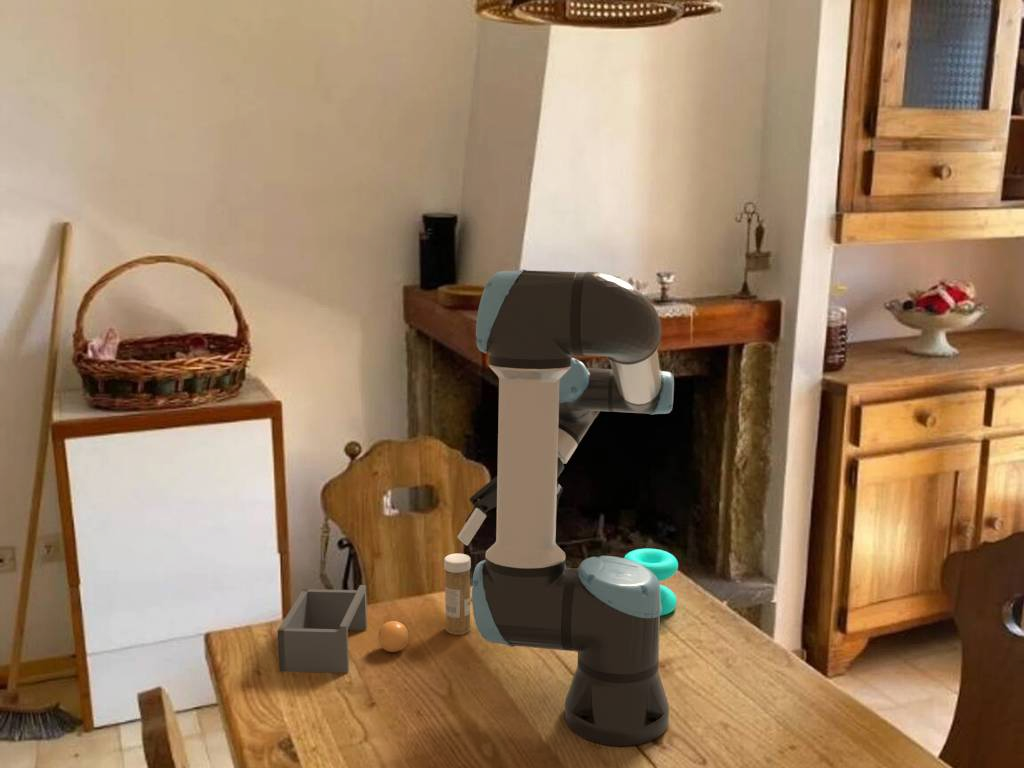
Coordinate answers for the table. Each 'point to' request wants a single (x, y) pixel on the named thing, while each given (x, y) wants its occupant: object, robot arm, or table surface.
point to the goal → (321, 630)
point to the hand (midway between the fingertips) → (486, 552)
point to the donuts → (658, 572)
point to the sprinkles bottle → (457, 593)
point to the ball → (393, 636)
